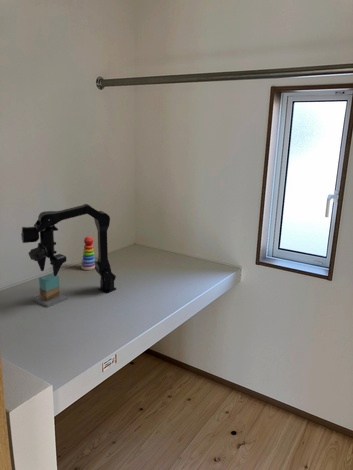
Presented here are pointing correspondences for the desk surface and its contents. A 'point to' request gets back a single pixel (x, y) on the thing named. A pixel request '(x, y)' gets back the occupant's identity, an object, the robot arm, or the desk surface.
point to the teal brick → (49, 282)
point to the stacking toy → (88, 254)
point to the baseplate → (50, 302)
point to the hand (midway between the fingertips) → (48, 273)
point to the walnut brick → (49, 294)
